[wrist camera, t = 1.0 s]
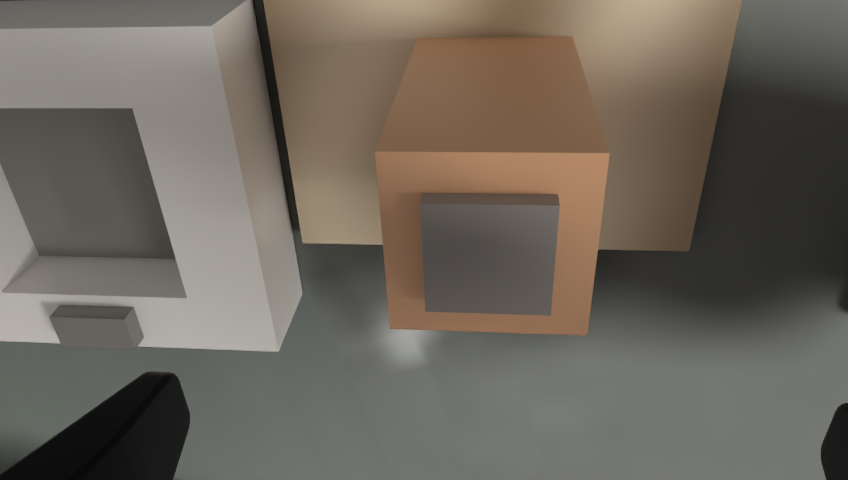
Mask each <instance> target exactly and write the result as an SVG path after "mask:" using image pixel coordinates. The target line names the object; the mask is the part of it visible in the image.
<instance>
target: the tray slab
mask: <svg viewBox="0 0 848 480" xmlns="http://www.w3.org/2000/svg"><path fill="white" fill-rule="evenodd" d="M263 2H264V8H265V15H266V21H267V27H268V33H269V39H270V45H271V52H272V58H273V64H274V70H275V76H276V82H277V89H278V95H279V101H280V107H281V113H282V119H283V126H284V132H285V138H286V144H287V150H288V156H289V163H290V169H291V175H292V181H293V187H294V193H295V200H296V206H297V212H298V218H299V224H300V230H301V237H302V243H321V244H368V245H383V241H382V229H381V218H380V206H379V194H378V182H377V171H376V159H375V150H376V147H377V145H378V142H379V139H380V137H381V134H382V131H383V129H384V126H385V123H386V121H387V118H388V115H389V113H390V110H391V107H392V105H393V102H394V99H395V97H396V94H397V91H398V89H399V86H400V83H401V81H402V78H403V75H404V73H405V70H406V67H407V65H408V62H409V59H410V57H411V54H412V51H413V49H414V46H415V43H416V41H417V38H483V37H573V40H574V43H575V46H576V49H577V53H578V56H579V59H580V62H581V65H582V68H583V71H584V74H585V78H586V81H587V84H588V87H589V90H590V93H591V96H592V99H593V102H594V106H595V109H596V112H597V115H598V118H599V121H600V124H601V127H602V130H603V134H604V137H605V140H606V143H607V146H608V149H609V152H610V155H609V164H608V172H607V180H606V188H605V196H604V204H603V213H602V221H601V229H600V237H599V245H598V249H602V250H649V251H689V250H690V245H691V240H692V236H693V231H694V226H695V222H696V217H697V212H698V207H699V203H700V198H701V193H702V188H703V184H704V179H705V174H706V169H707V165H708V160H709V155H710V151H711V146H712V141H713V136H714V132H715V127H716V122H717V117H718V113H719V108H720V103H721V98H722V94H723V89H724V84H725V80H726V75H727V70H728V65H729V61H730V56H731V51H732V46H733V42H734V37H735V32H736V27H737V23H738V18H739V13H740V9H741V4H742V0H263Z"/></svg>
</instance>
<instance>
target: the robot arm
mask: <svg viewBox="0 0 848 480" xmlns="http://www.w3.org/2000/svg"><path fill="white" fill-rule="evenodd" d="M189 424H190V413H189V409H188V406H187V403H186V400H185V397H184V393H183V390H182V387H181V384H180V381H179V379H178V377H177V376H176V375H175V374H174V373H171V372H146V373H144V374H142V375H141V376H139V377H138V378H136V379H135V380H133V381H132V382H131V383H129V384H128V385H126V386H125V387H123V388H122V389H121V390H119V391H118V392H116V393H115V394H114V395H112V396H111V397H109V398H108V399H106V400H105V401H104V402H102V403H101V404H99V405H98V406H96V407H95V408H94V409H92V410H91V411H89V412H88V413H87V414H85V415H84V416H82V417H81V418H79V419H78V420H77V421H75V422H74V423H72V424H71V425H69V426H68V427H67V428H65V429H64V430H62V431H61V432H60V433H58V434H57V435H55V436H54V437H52V438H51V439H50V440H48V441H47V442H45V443H44V444H42V445H41V446H40V447H38V448H37V449H35V450H34V451H33V452H31V453H30V454H28V455H27V456H25V457H24V458H23V459H21V460H20V461H18V462H17V463H15V464H14V465H13V466H11V467H10V468H8V469H7V470H6V471H4V472H3V473H1V474H0V480H173V478H174V475H175V472H176V468H177V465H178V462H179V459H180V455H181V452H182V449H183V446H184V442H185V439H186V436H187V433H188V429H189ZM821 462H822V466H823V470H824V473H825V477H826V480H848V403H844V404H842V405H840V406H839V407H838V408H837V410H836V411H835V414H834V416H833V419H832V421H831V424H830V426H829V428H828V431H827V433H826V436H825V438H824V440H823V443H822V446H821Z"/></svg>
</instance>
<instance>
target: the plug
mask: <svg viewBox="0 0 848 480" xmlns="http://www.w3.org/2000/svg"><path fill="white" fill-rule="evenodd" d="M609 155H610V152H609V149H608V146H607V143H606V140H605V137H604V134H603V130H602V127H601V124H600V121H599V118H598V115H597V112H596V109H595V106H594V102H593V99H592V96H591V93H590V90H589V87H588V84H587V81H586V78H585V74H584V71H583V68H582V65H581V62H580V59H579V56H578V53H577V49H576V46H575V43H574V40H573V37H483V38H417V41H416V43H415V46H414V49H413V51H412V54H411V57H410V59H409V62H408V65H407V67H406V70H405V73H404V75H403V78H402V81H401V83H400V86H399V89H398V91H397V94H396V97H395V99H394V102H393V105H392V107H391V110H390V113H389V115H388V118H387V121H386V123H385V126H384V129H383V131H382V134H381V137H380V139H379V142H378V145H377V147H376V150H375V159H376V171H377V182H378V194H379V206H380V218H381V229H382V241H383V253H384V265H385V276H386V288H387V300H388V312H389V323H390V329H413V330H442V331H471V332H500V333H529V334H558V335H588V327H589V319H590V310H591V302H592V294H593V286H594V278H595V270H596V261H597V253H598V245H599V237H600V229H601V221H602V213H603V204H604V196H605V188H606V180H607V172H608V164H609Z"/></svg>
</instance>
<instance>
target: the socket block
mask: <svg viewBox="0 0 848 480" xmlns="http://www.w3.org/2000/svg"><path fill="white" fill-rule="evenodd" d="M302 294H303V293H302V287H301V281H300V275H299V269H298V263H297V257H296V252H295V246H294V240H293V234H292V228H291V222H290V216H289V211H288V205H287V199H286V193H285V187H284V181H283V175H282V169H281V164H280V158H279V152H278V146H277V140H276V134H275V128H274V122H273V117H272V111H271V105H270V99H269V93H268V87H267V81H266V75H265V70H264V64H263V58H262V52H261V46H260V40H259V34H258V28H257V23H256V17H255V11H254V5H253V0H22V1H0V341H14V342H40V343H61V346H62V347H74V348H99V349H125V350H136V348H137V347H138V346H143V347H169V348H195V349H221V350H246V351H272V352H279V349H280V347H281V345H282V342H283V340H284V337H285V335H286V333H287V330H288V328H289V325H290V323H291V320H292V318H293V316H294V313H295V311H296V308H297V306H298V304H299V301H300V299H301V296H302Z"/></svg>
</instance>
